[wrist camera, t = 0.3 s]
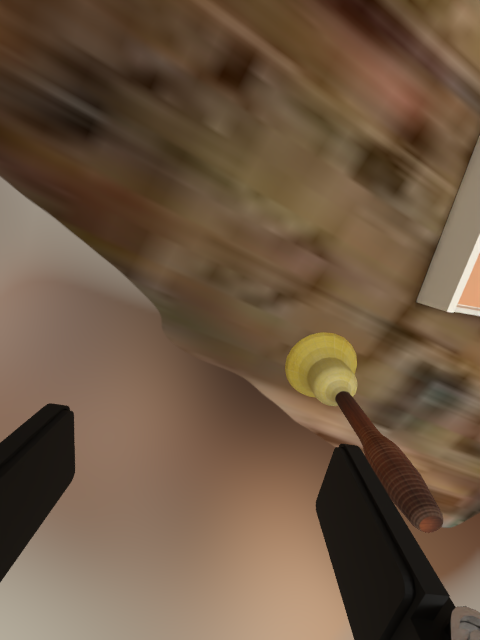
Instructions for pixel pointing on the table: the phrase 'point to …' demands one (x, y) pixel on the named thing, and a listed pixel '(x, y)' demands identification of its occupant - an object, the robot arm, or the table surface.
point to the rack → (458, 251)
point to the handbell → (360, 422)
